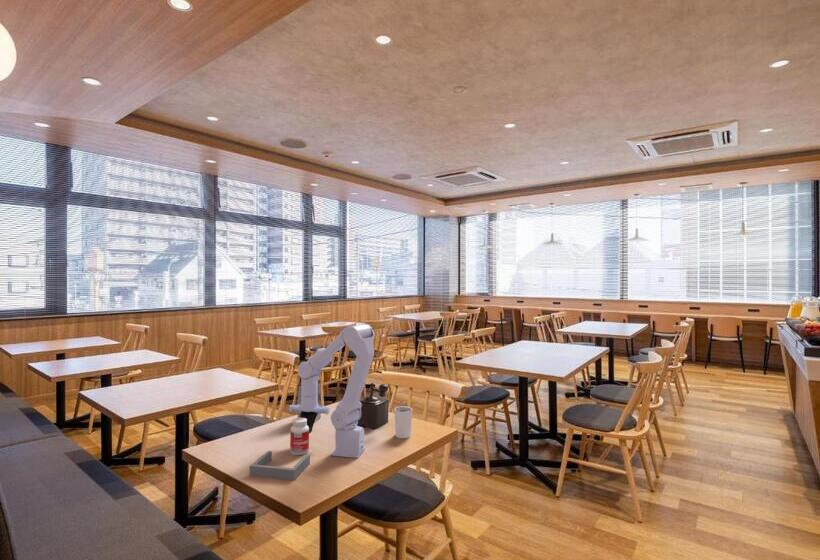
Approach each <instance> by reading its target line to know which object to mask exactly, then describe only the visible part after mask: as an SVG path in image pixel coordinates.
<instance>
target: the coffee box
mask: <svg viewBox="0 0 820 560" xmlns="http://www.w3.org/2000/svg"><path fill="white" fill-rule="evenodd" d="M321 381H322V380H321V379H318V404H317V405H319V406H322V405H321V402H322V401H321V400H322V399H321V398H322V397H321V396H322V395H321V394H322V391H321V390H322V388H321V386H322V385H321ZM297 405H301V382H300V383H298V384H297ZM300 414H301V412H298V411H297V418H300ZM321 414H322V413H318V415H317V417H316V419H315V421H314V423H316V422H317V421H318V420H319V419H321V417H322V415H321Z"/></svg>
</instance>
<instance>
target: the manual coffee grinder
mask: <svg viewBox="0 0 820 560" xmlns="http://www.w3.org/2000/svg"><path fill="white" fill-rule="evenodd" d="M369 389H370V394H369V395H366V396H365V397H362V398H360V400H359V401H360V402H361V404H362V406H361V417H360V419H359V420H358V424H357V426H359V427H363V428H366V429H371V430H375V429H379V428H381V427H383V426H385V425H386V424H388V422H389V403H390V402H389V399H385V397H386V396H387V395H386V392H388V391H389V386H388V385H387V384H386V383H382V384H379V386H378V388H376V387H374V382H371V383H370V387H369ZM374 391H375V392H376V393H378V396H379V397H378V396H377V395H374Z"/></svg>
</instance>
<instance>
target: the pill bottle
mask: <svg viewBox="0 0 820 560" xmlns="http://www.w3.org/2000/svg"><path fill="white" fill-rule="evenodd" d="M306 424H307V419H306V418H298V417H296V418H293V419H292V426H291V428H290V429H289V430H290V433H289V434H290V435H289V439H290V440H289V441H290V442H289V449H290V450H289V452H290V454H291V455H293V456H303V455H306V454H308V452H309V450H310V449H309V448H310V433H309V427H308V425H306Z"/></svg>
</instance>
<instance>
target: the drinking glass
mask: <svg viewBox="0 0 820 560" xmlns="http://www.w3.org/2000/svg"><path fill="white" fill-rule="evenodd" d="M412 418H413V408H412V407H409V406H406V405H405V406H396V407H395V408H394V427H395V428H394V430H395V431H394V433H395V434H394V435H395V437H396V438H399V439H407V438H408V439H409V438H410V437H412V420H413V419H412Z"/></svg>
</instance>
